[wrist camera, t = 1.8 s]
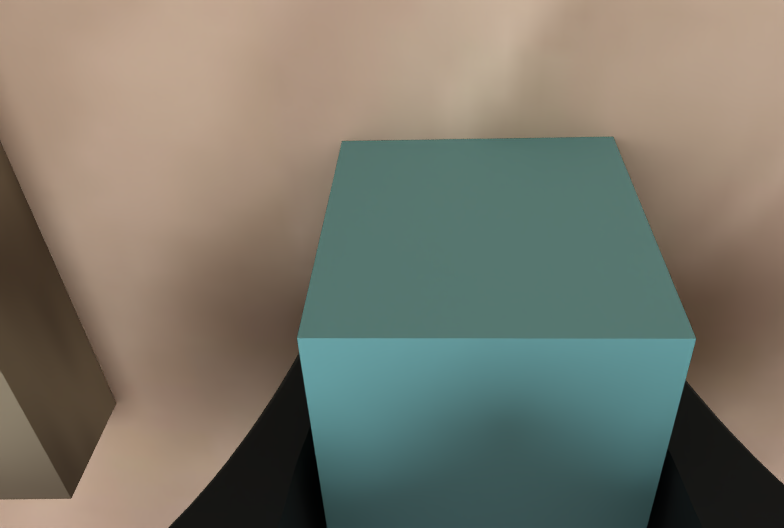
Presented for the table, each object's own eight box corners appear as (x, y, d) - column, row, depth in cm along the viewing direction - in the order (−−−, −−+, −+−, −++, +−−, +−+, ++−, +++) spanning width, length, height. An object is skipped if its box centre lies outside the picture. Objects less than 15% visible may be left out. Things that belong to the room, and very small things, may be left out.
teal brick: (567, 453, 17) (606, 681, 13) (370, 451, 17) (350, 673, 13) (612, 135, 12) (696, 338, 8) (342, 140, 13) (296, 338, 9)
